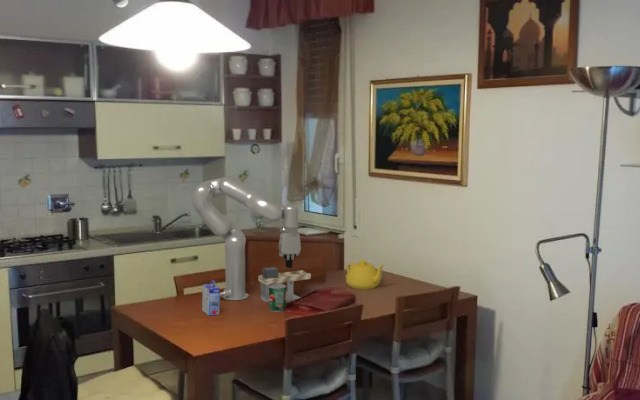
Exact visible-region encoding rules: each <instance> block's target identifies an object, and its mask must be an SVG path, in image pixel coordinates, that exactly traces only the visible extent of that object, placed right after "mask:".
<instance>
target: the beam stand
mask: <svg viewBox="0 0 640 400" xmlns="http://www.w3.org/2000/svg"><path fill="white" fill-rule="evenodd" d="M283 283H284V282H283ZM283 283H275V284H283ZM269 285H270V284H267V285H266V284H264V283H262V282H260V300H261V301H263V302H265V303H269ZM283 285H284V284H283ZM299 298H301V297H300V296H298V295H296V294H294V281H293V280H287V282H286V303H292V302H291V301H293V302H295V301H294V300H296V299H299Z"/></svg>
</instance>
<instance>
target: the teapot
mask: <svg viewBox="0 0 640 400" xmlns="http://www.w3.org/2000/svg"><path fill="white" fill-rule="evenodd" d="M384 266H385V264H381V265H379V266H378V268H376V267H375V265H374V264H373V263H369V262H367V260H366V259H361V260H359V262H355V263H353V262H351V263H348V264H347V265H346V272H347V274H346V275H345V282H346V284H347V285H348V286H349V288H351V289H355V290H372V289H375V288H377V287H378V285H380V282H381V280H382V269H383V267H384Z"/></svg>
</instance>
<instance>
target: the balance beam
mask: <svg viewBox="0 0 640 400" xmlns="http://www.w3.org/2000/svg"><path fill="white" fill-rule="evenodd" d="M257 278H258V282H260V283H261V282H262V283H264V284H266V285H267V284H269V285H272V284H276V283H287V280H293V282H297V281H304V280H310V279H312V274H311V273H309V272H306V271H304V270H302V269H301V270H295V271H285V272H278V277H277V278H270V279H265V278H263V277H262V274H261V275H258V277H257Z"/></svg>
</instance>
